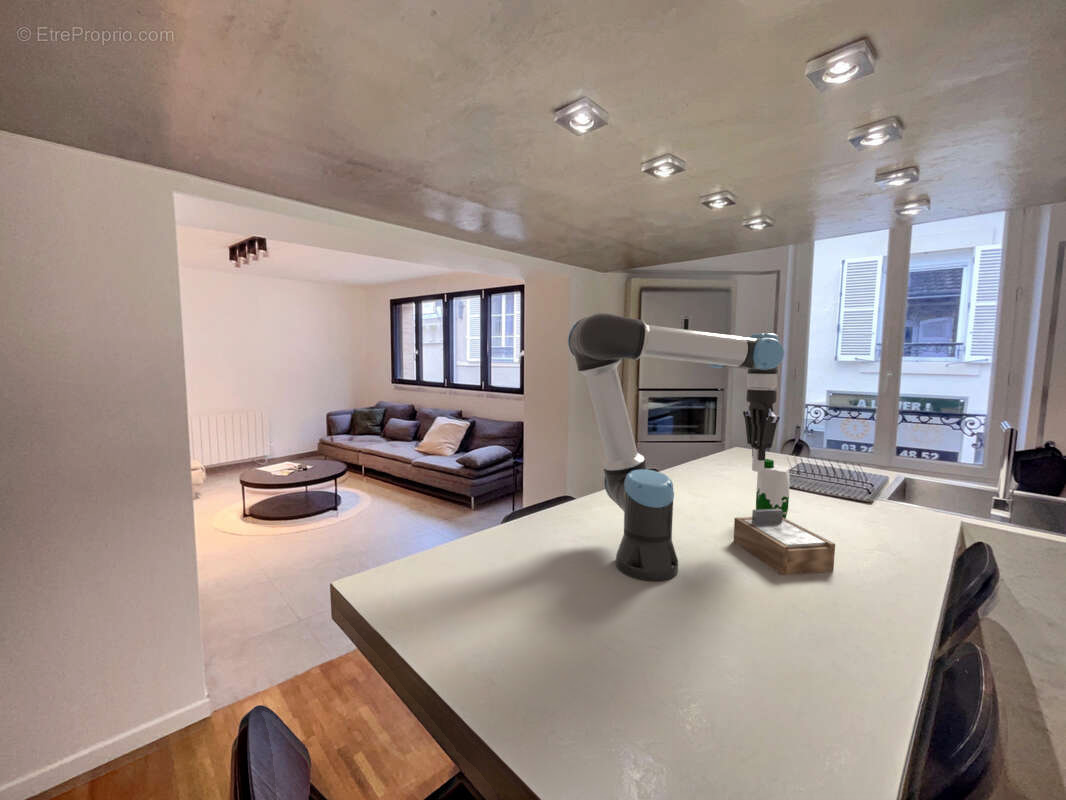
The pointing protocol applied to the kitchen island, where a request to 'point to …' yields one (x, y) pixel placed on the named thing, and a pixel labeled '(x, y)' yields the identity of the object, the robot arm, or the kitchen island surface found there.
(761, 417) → the robot arm
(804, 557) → the box
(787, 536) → the cover plate
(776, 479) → the milk carton
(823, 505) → the kitchen island surface
